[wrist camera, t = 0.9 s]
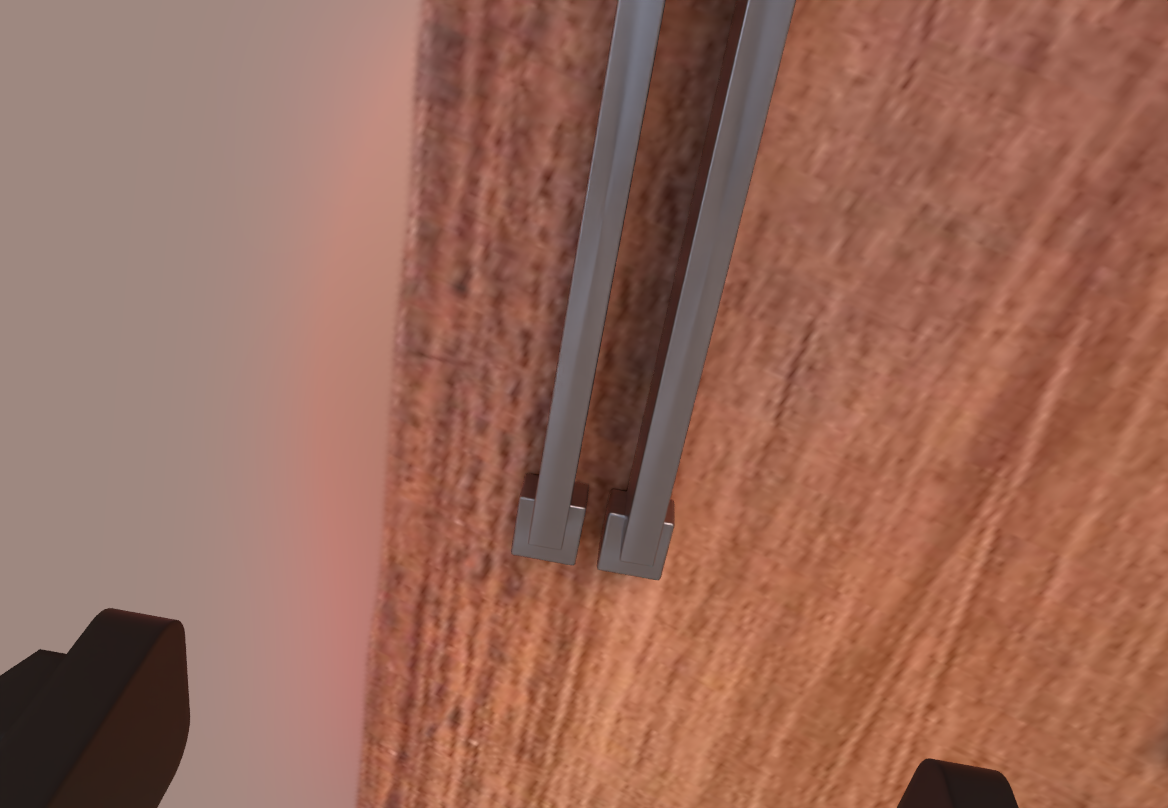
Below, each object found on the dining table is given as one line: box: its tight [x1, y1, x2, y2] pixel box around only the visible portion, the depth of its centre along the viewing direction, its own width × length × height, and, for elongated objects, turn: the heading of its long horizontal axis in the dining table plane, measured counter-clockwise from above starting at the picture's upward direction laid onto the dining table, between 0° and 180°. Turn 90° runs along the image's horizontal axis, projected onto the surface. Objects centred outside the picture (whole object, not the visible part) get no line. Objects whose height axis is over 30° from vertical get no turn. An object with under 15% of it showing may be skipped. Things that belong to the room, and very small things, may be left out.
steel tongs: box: [511, 0, 796, 580], centre depth 21 cm, size 20×4×2 cm, turn 171°
